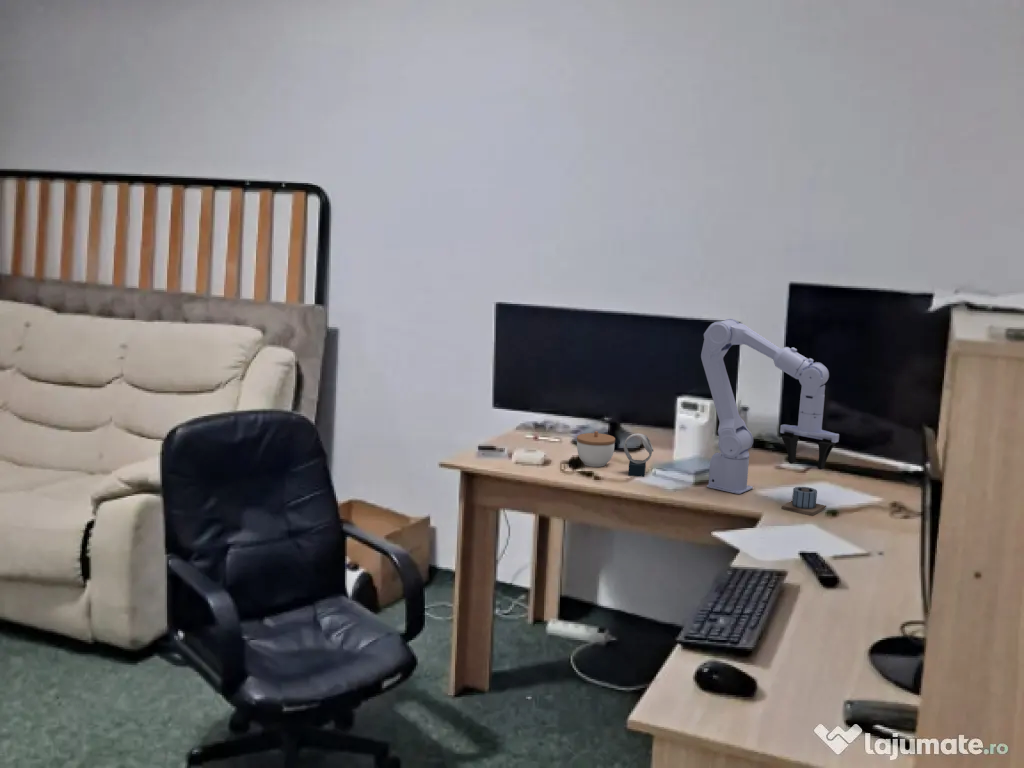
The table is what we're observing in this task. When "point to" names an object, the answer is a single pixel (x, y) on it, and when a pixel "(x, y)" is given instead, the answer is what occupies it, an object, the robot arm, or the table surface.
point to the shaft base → (804, 511)
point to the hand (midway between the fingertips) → (806, 465)
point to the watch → (638, 465)
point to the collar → (804, 498)
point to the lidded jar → (595, 448)
